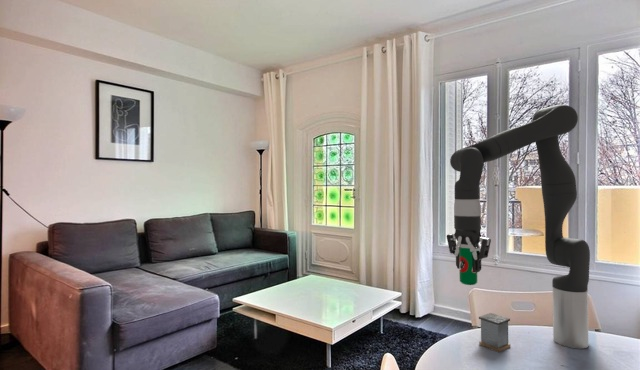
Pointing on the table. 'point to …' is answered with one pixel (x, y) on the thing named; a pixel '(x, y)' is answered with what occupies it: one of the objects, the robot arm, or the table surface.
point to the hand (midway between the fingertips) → (468, 269)
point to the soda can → (466, 266)
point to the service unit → (494, 332)
